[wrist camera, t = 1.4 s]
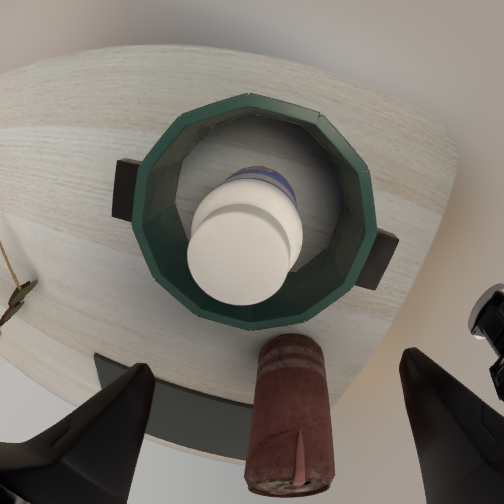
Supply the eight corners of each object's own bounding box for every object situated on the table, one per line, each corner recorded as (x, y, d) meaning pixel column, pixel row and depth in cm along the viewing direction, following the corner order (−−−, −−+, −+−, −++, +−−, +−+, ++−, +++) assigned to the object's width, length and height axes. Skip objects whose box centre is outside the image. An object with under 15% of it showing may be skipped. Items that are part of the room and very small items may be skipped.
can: (325, 328, 23) (344, 476, 10) (319, 372, 26) (327, 497, 13) (257, 329, 24) (237, 478, 11) (261, 374, 26) (246, 498, 14)
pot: (395, 153, 16) (434, 163, 11) (332, 306, 22) (343, 352, 17) (166, 89, 16) (128, 77, 11) (139, 252, 22) (106, 285, 17)
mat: (292, 412, 29) (292, 416, 29) (252, 459, 37) (252, 461, 37) (95, 352, 29) (93, 355, 28) (112, 416, 37) (111, 419, 36)
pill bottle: (266, 251, 21) (255, 340, 12) (206, 211, 20) (150, 276, 11) (311, 194, 18) (339, 252, 10) (247, 149, 18) (214, 164, 9)
